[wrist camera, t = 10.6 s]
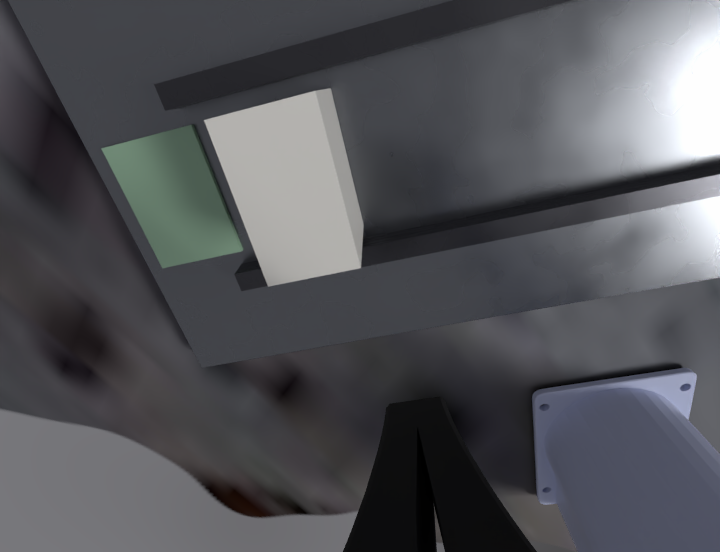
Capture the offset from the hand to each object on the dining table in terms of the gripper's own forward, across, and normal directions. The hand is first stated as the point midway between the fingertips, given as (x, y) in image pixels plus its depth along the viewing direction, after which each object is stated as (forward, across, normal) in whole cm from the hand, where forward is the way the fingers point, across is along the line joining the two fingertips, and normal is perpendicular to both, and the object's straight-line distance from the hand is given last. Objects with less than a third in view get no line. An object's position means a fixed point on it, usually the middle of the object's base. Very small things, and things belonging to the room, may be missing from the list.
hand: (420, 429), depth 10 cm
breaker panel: (+9, -4, -6) cm, 11 cm away
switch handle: (+8, +2, -5) cm, 10 cm away
